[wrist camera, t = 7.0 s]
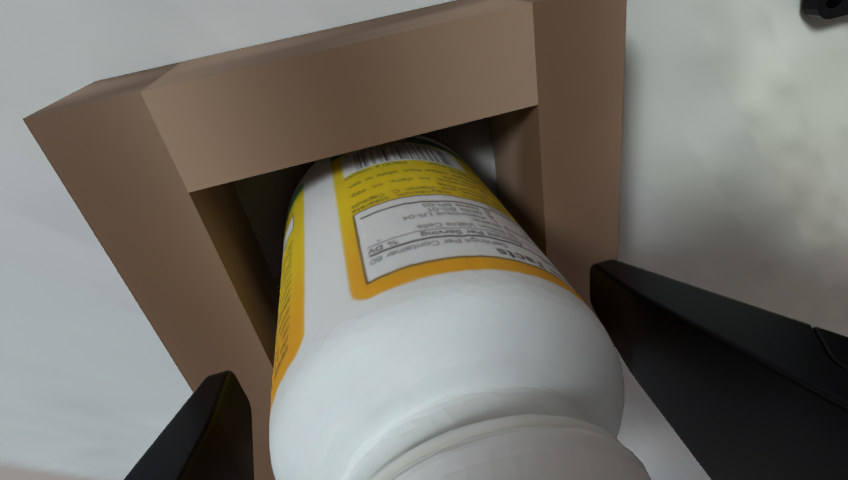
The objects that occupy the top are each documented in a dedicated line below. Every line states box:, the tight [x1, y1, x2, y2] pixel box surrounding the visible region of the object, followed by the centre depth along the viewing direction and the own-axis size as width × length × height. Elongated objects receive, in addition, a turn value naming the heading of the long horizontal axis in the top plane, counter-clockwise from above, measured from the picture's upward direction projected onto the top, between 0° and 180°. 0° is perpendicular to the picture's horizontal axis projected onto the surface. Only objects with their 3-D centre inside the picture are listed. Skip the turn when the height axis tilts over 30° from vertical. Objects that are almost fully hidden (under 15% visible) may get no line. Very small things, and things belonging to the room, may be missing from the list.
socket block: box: [23, 0, 627, 480], centre depth 12 cm, size 10×10×3 cm
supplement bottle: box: [269, 135, 651, 480], centre depth 9 cm, size 5×5×10 cm
